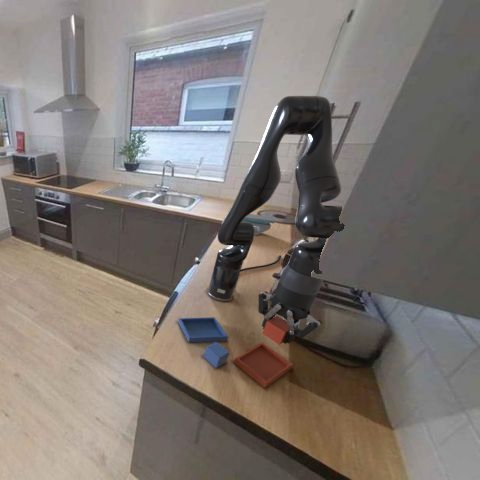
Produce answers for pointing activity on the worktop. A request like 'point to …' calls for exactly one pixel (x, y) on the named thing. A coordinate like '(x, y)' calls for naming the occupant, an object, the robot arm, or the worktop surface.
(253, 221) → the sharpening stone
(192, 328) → the blue tray
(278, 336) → the rust block
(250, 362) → the rust tray
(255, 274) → the worktop surface
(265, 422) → the worktop surface
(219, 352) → the blue block
